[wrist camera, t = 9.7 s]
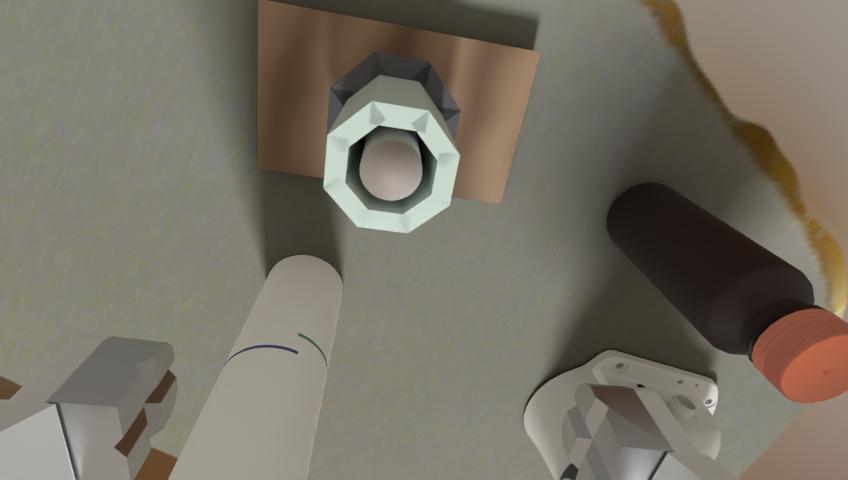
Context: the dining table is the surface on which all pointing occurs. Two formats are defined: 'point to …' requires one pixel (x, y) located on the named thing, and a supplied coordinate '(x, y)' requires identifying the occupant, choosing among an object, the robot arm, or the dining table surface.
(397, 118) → the sleeve
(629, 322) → the dining table surface
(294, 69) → the pipe stand
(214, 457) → the cylindrical container
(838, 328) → the bottle
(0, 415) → the robot arm
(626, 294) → the dining table surface
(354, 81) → the o ring
